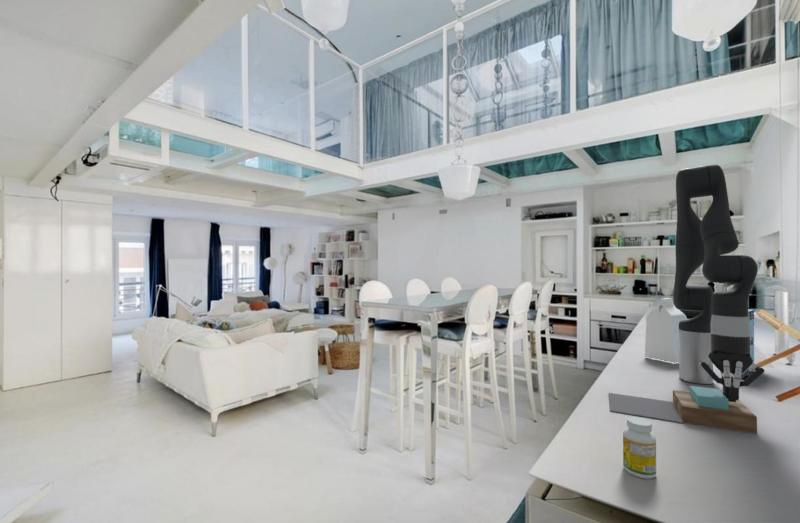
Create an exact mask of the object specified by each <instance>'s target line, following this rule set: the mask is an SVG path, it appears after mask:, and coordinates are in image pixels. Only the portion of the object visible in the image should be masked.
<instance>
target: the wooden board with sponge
mask: <svg viewBox="0 0 800 523" xmlns="http://www.w3.org/2000/svg"><path fill="white" fill-rule="evenodd" d="M672 402H673V404H674V406H675V408H676V409H677V411H678V413H679V415H680V416H681V418H682V420H683V422H684V423H686V424H693V425H700V426H704V427H710V428H717V429H723V430H729V431H737V432H742V433H746V434H747V433H749V434H753V435H757V434H758V417H757V415H755V414H754V413H753V412H752V411H751V410H750V409H749V408H748V407H747V406H745V405H744V403H742V402H741V401H740V400H739V399H738V400H736V402H729V410H726V409H719V408H712V407H705V406H698V405H697V404H696V402H695V401H694V400H693V398H692V397H691V396H690V391H683V390H675V389H672Z"/></svg>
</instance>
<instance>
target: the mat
mask: <svg viewBox="0 0 800 523" xmlns="http://www.w3.org/2000/svg"><path fill="white" fill-rule="evenodd" d="M608 402H609V411H610V413H616V414H617V413H618V414H623V415H630V416H634V417H639V418H647V419H654V420H661V421H666V422H672V423H678V424H684V423H685V422H683V420H682V418H681V416H680V415H679V413H678V411H677V409H676V408H675V406H674V404H673V401H669V400H661V399H657V398H656V399H655V398H648V397H641V396H640V397H639V396H634V395H627V394H626V395H625V394H621V393H614V392H612V393H611V392H608Z"/></svg>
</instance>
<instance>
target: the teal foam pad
mask: <svg viewBox="0 0 800 523" xmlns="http://www.w3.org/2000/svg"><path fill="white" fill-rule="evenodd" d="M689 392H690V396H691V397H692V398H693V400H694V401H695V402H696V404H697V405H698V406H705V407H712V408H719V409H726V410H729V400H728V399H727V398H726V397H725V396H724V395H723V392H722V391H720V390H719V389H718V388H714V387H713V388H712V387H703V386H696V385H689Z"/></svg>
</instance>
